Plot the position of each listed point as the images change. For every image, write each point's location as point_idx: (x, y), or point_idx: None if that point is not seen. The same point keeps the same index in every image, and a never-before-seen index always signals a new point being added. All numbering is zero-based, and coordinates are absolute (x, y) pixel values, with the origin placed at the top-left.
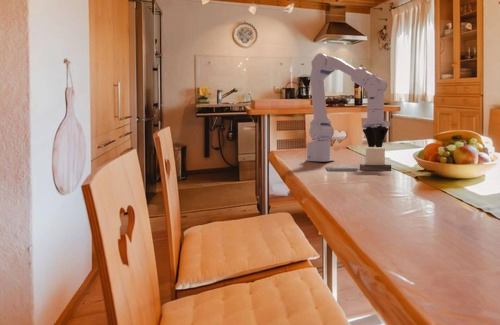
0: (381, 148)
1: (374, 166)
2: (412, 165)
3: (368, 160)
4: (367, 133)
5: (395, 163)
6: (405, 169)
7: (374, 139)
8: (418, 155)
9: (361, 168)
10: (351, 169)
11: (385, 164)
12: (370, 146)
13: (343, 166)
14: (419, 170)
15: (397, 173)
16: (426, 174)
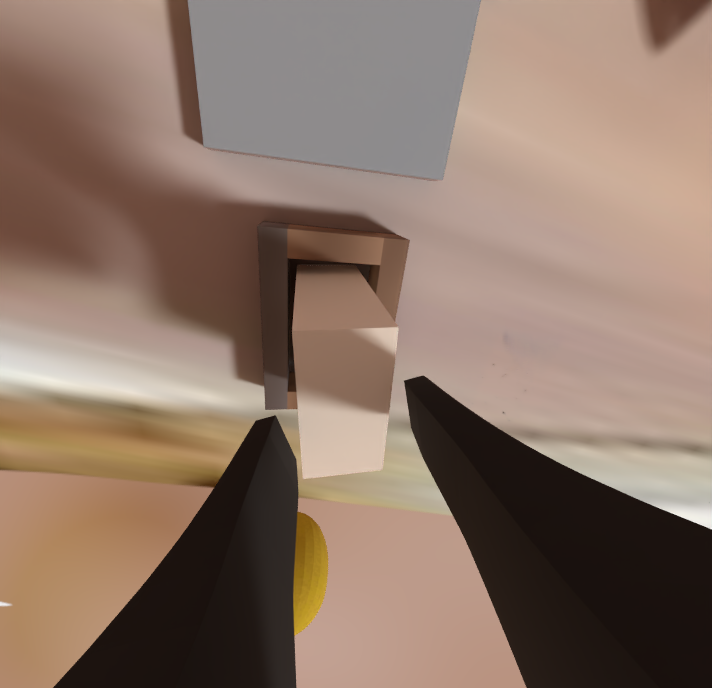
0: (301, 455)
1: (263, 308)
2: None
3: (295, 287)
4: (532, 554)
5: (653, 491)
6: None
7: (456, 512)
8: None
9: (340, 230)
10: (198, 76)
11: None
12: (407, 394)
13: (454, 84)
14: None
15: (42, 365)
16: (17, 469)
